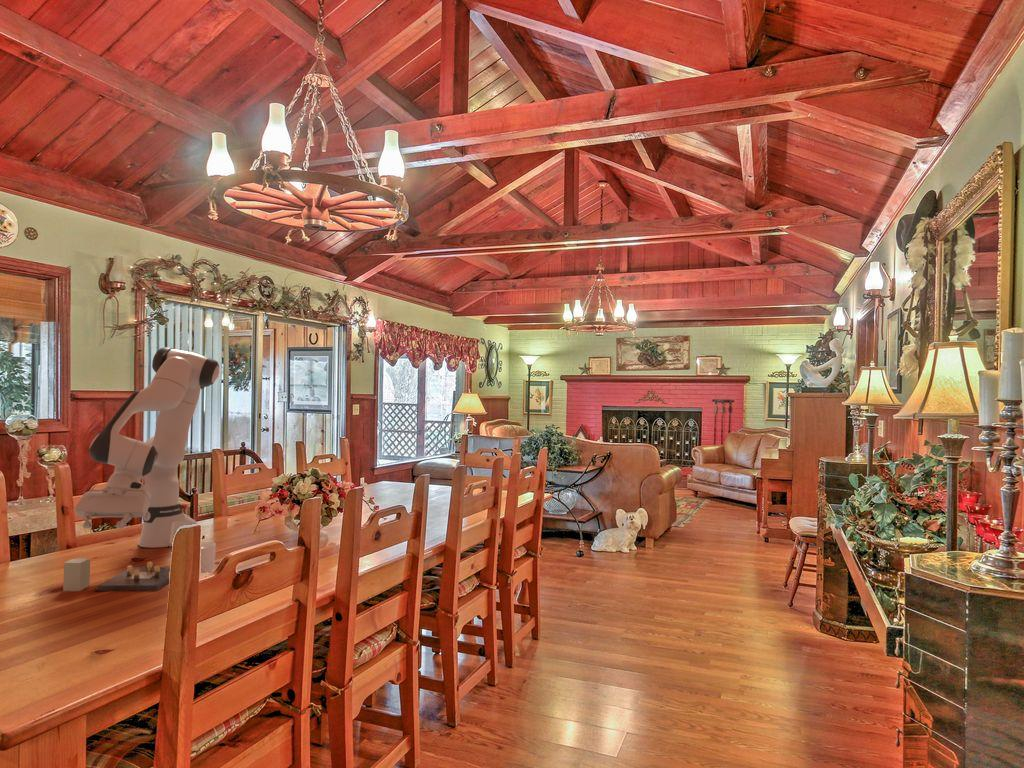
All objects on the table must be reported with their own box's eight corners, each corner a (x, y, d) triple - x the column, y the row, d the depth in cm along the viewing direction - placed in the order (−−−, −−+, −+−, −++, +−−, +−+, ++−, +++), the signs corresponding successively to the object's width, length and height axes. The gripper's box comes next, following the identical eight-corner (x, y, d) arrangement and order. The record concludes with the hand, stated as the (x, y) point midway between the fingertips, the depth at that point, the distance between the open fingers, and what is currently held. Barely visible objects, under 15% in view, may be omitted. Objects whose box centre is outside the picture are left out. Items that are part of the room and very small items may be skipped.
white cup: (220, 574, 195) (221, 542, 195) (205, 582, 187) (206, 548, 187) (196, 573, 196) (197, 541, 196) (180, 580, 188) (181, 547, 188)
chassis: (130, 571, 195) (131, 557, 195) (184, 571, 197) (184, 557, 197) (97, 590, 177) (98, 574, 177) (156, 590, 179) (157, 574, 179)
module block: (73, 586, 181) (73, 558, 181) (89, 586, 181) (90, 558, 181) (63, 591, 176) (64, 562, 176) (80, 591, 177) (80, 562, 177)
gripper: (82, 483, 198) (62, 521, 188) (150, 484, 200) (133, 522, 190) (90, 495, 202) (70, 532, 192) (156, 496, 204) (140, 533, 194)
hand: (102, 527), depth 191 cm, fingers open, 8 cm apart
